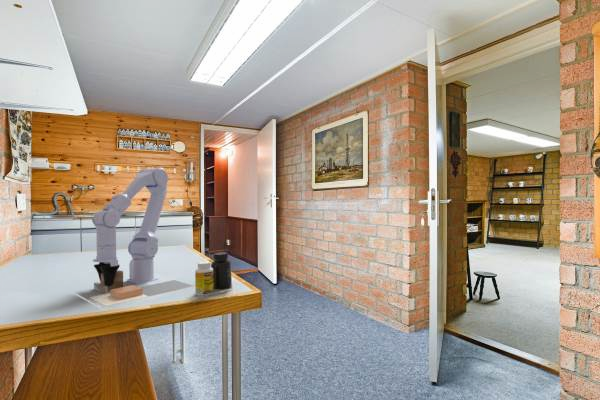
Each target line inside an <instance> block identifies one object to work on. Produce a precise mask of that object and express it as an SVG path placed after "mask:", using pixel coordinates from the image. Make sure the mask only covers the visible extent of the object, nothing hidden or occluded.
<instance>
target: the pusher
mask: <svg viewBox="0 0 600 400" xmlns="http://www.w3.org/2000/svg"><path fill="white" fill-rule="evenodd" d="M121 287H124V271H123V270H119V269H118V270H117V272H116V275H115V279H114V283H113V285H112V286H105V283H104V277H103V273H101V283H100V282H98V281H97V282H94V283H93V290H95V291H97V292H100V293H102V295H103V294H108V291H110V290H111V289H116V288H121Z"/></svg>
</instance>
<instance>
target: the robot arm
mask: <svg viewBox="0 0 600 400" xmlns="http://www.w3.org/2000/svg"><path fill="white" fill-rule="evenodd" d="M169 178H170V177H169V175H168V173H167V171H166V169H165V168H163V167H156V168H155V167H154V168H142V169H141V170H139V172H138V173H136V174H135V178H134V179H133V180H132V181H131V183H129V185H128V186H127V188H126V189H125V190H124V191H123V192H122V193H117V194H116V195H115V194H114V195H113V196H112V197H111V198H112V199H111V200H110V201H109V202H108V203H107V204H106V205H103V207H102V209H101V210H98V211H97V212H95V213H94V215H93V218H91V222H92V223H93V225H94V227H95V231H96V256H95V258H93V259H92V262H93V263H96V264H93V267H94V269H95V270H96V272H97V274H98V275H97V276H98V278H99V283H101V273H103V277H104V283H105V286H112V285H113V283H114V279H115V275H116V272H117V271H119V268H120V266H121V265H120V264H119V260H118V257H117V226H118V225H119V224H120V221H121V216H122V215H124V213H125V211H126V210H128V209H129V208H130V206H131V205H132V199H133V198H134V197H135V196H136V195H137V194H138V193H139V192H140V191H141V190H142V189H144V187H145V189H147V191H148V192H149V193H150V196H149V199H148V203H147V206H146V209H145V212H144V215H143V219H142V222H141V226H140V228H139V231H138V232H137V233H135V235H133V238H132V240H131V241H130V242H129V243H128V246H127V252H128V254H129V255H130V256H131V258H132V259H131V260H130V261H129V266H128V267H129V272H128V274H129V278H127V279H126V281H127V282H131V283H135V284H141V283H142V284H143V283H147V282H152V281H156V280H159V278H157V277H155V271H154V268H155V267H154V263H155V262H154V258H155V256H156V255H157V253H158V250H159V238H158V237H157V236H156V230H157V229H158V228H157V227H158V223H159V222H160V221H159V220H160V216H161V214H162V210H163V207H164V203H165V200H166V197H167V184H168V182H169Z"/></svg>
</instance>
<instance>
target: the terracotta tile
mask: <svg viewBox="0 0 600 400" xmlns="http://www.w3.org/2000/svg"><path fill="white" fill-rule="evenodd" d="M140 287H141V286H138V285H135V284H132V285H127V286H123V287H121V288H116V289H111V290H109V293H110V296H111V297H114V298H116V299H118V300H121V299H126V298H130V297H134V296H139V295H143V288H140Z"/></svg>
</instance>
